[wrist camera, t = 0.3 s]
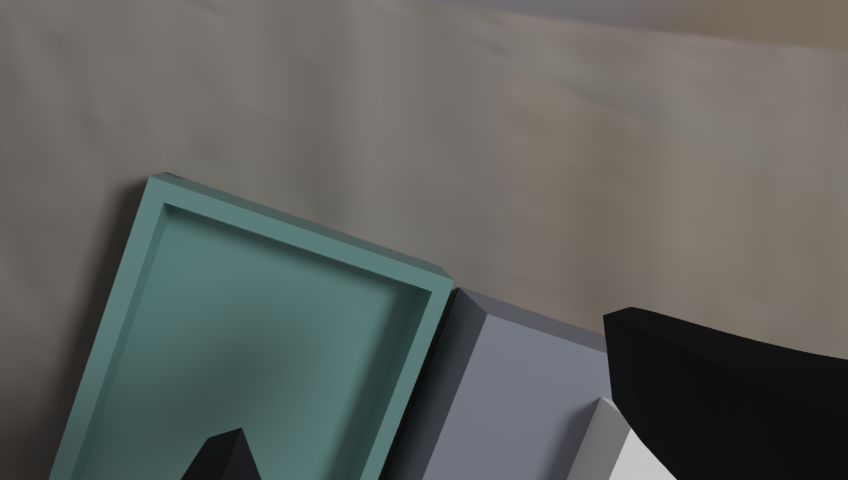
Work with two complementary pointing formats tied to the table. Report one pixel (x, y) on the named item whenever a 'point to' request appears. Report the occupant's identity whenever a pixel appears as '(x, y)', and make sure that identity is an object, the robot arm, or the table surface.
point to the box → (249, 344)
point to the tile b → (614, 450)
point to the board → (502, 396)
